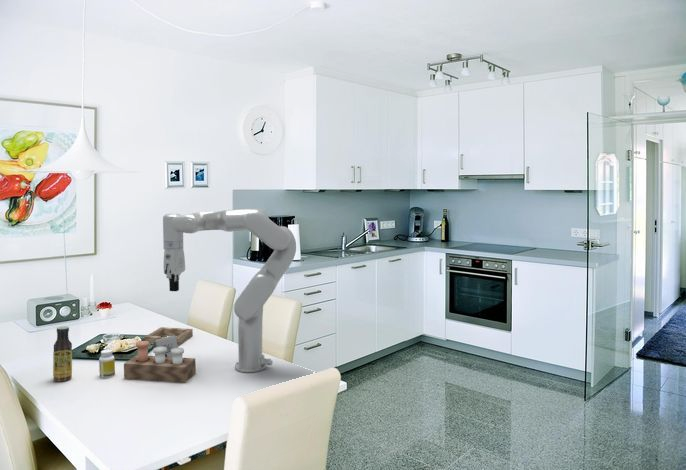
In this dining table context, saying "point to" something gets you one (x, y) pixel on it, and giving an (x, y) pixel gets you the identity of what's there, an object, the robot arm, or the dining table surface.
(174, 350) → the grey plug
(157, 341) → the electrical switch
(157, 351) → the grey plug
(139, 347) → the terracotta plug
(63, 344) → the sauce bottle
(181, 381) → the block
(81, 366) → the dining table surface
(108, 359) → the supplement bottle
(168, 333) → the square wooden frame
